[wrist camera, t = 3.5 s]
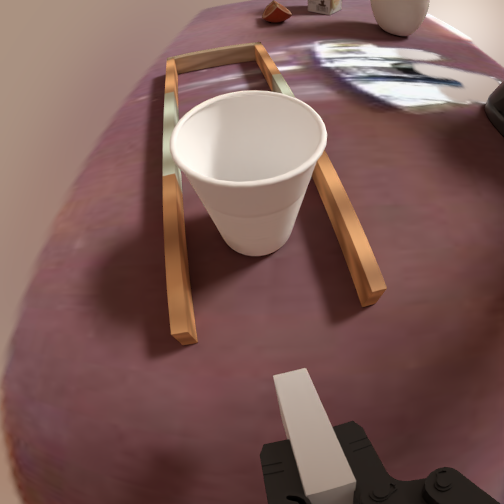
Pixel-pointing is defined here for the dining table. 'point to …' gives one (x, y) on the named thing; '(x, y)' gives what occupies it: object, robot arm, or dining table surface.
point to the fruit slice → (276, 13)
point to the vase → (399, 15)
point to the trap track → (176, 258)
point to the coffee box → (324, 6)
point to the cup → (250, 163)
